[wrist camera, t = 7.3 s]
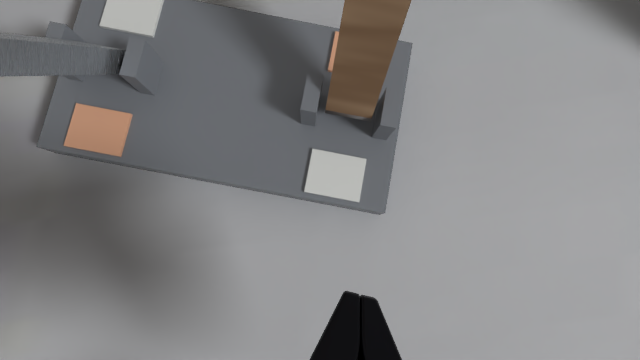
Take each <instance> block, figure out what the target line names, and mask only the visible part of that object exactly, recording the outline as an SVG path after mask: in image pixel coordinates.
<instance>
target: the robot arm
mask: <svg viewBox="0 0 640 360" xmlns="http://www.w3.org/2000/svg"><path fill="white" fill-rule="evenodd" d="M310 360H402V359H401V357H400V354H399V352H398V349H397V347H396V344H395V342H394V340H393V337H392V335H391V332H390V330H389V328H388V325H387V323H386V320H385V318H384V316H383V313H382V311H381V308H380V306H379V303H378V301H377V300H376V299H375V298H373V297H369V296H365V295H361V296H359V294H357V293H353V292H349V291H345V292H344V293H343V294H342V296H341V298H340V300H339V302H338V304H337V306H336V308H335V310H334V312H333V314H332V316H331V318H330V320H329V322H328V324H327V326H326V328H325V330H324V332H323V334H322V336H321V338H320V340H319V342H318V344H317V346H316V348H315V350H314V352H313V354H312V356H311V358H310Z"/></svg>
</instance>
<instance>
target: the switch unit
mask: <svg viewBox="0 0 640 360" xmlns="http://www.w3.org/2000/svg"><path fill="white" fill-rule="evenodd" d="M339 30H340V29H338V28H333V27H328V26H322V25H317V24H312V23H307V22H302V21H297V20H292V19H287V18H282V17H276V16H271V15H266V14H261V13H256V12H251V11H246V10H241V9H236V8H230V7H225V6H220V5H215V4H210V3H205V2H200V1H195V0H82V1H81V5H80V8H79V11H78V14H77V17H76V21H75V24H74V27H73V30H72V29H70V28H69V27H68V26H67V25H66V24H60V23H55V22H50V23H49V26H48V29H47V32H46V35H45V37H46V38H55V39H64V40H73V41H80V42H86V43H91V44H96V45H101V46H106V47H111V48H117V49H122V50H126V52H125V55H124V59H123V62H122V66H121V69H120V73H119V74H109V75H59V76H58V79H57V82H56V85H55V88H54V92H53V95H52V98H51V101H50V105H49V108H48V111H47V114H46V118H45V121H44V124H43V127H42V130H41V134H40V137H39V140H38V143H37V147H39V148H42V149H45V150H48V151H51V152H55V153H59V154H65V155H70V156H75V157H80V158H86V159H91V160H96V161H101V162H107V163H112V164H117V165H122V166H128V167H133V168H138V169H143V170H148V171H154V172H159V173H164V174H169V175H175V176H180V177H185V178H190V179H196V180H201V181H206V182H211V183H217V184H222V185H227V186H232V187H238V188H243V189H248V190H253V191H259V192H264V193H269V194H274V195H279V196H285V197H290V198H295V199H300V200H306V201H311V202H316V203H321V204H327V205H332V206H337V207H342V208H348V209H353V210H358V211H363V212H369V213H374V214H379V215H380V214H384V213H385V210H386V204H387V198H388V192H389V186H390V179H391V173H392V167H393V161H394V155H395V148H396V142H397V136H398V130H399V124H400V117H401V111H402V105H403V99H404V93H405V86H406V80H407V74H408V68H409V62H410V55H411V49H412V43H409V42H404V41H399V40H398V41H397V44H396V47H395V50H394V53H393V56H392V59H391V62H390V65H389V68H388V71H387V74H386V77H385V80H384V83H383V86H382V89H381V92H380V95H379V98H378V101H377V104H376V107H375V110H374V113H373V116H372V119H371V121H370V122H369V121H364V120H359V119H353V118H348V117H343V116H338V115H333V114H328V113H325V109H326V103H327V98H328V92H329V87H330V81H331V75H332V70H333V64H334V59H335V53H336V47H337V42H338V36H339Z"/></svg>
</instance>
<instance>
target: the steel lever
mask: <svg viewBox="0 0 640 360" xmlns="http://www.w3.org/2000/svg"><path fill="white" fill-rule="evenodd" d="M125 52H126V50H122V49H117V48H111V47H106V46H101V45H96V44H91V43H86V42H80V41H73V40H64V39H55V38H46V37H38V36H29V35H20V34H11V33H3V32H0V76H48V75H109V74H119V73H120V69H121V66H122V62H123V59H124V55H125Z"/></svg>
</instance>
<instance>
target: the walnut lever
mask: <svg viewBox="0 0 640 360" xmlns="http://www.w3.org/2000/svg"><path fill="white" fill-rule="evenodd" d="M410 3H411V0H345V2H344V8H343V14H342V19H341V25H340V30H339V36H338V42H337V47H336V53H335V59H334V64H333V70H332V75H331V81H330V87H329V92H328V98H327V103H326V109H325V113H328V114H333V115H338V116H343V117H348V118H353V119H359V120H364V121H369V122H370V121H371V119H372V116H373V113H374V110H375V107H376V104H377V101H378V98H379V95H380V92H381V89H382V86H383V83H384V80H385V77H386V74H387V71H388V68H389V65H390V62H391V59H392V56H393V53H394V50H395V47H396V44H397V41H398V39H399V36H400V33H401V30H402V27H403V24H404V21H405V18H406V15H407V12H408V9H409V6H410Z"/></svg>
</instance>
